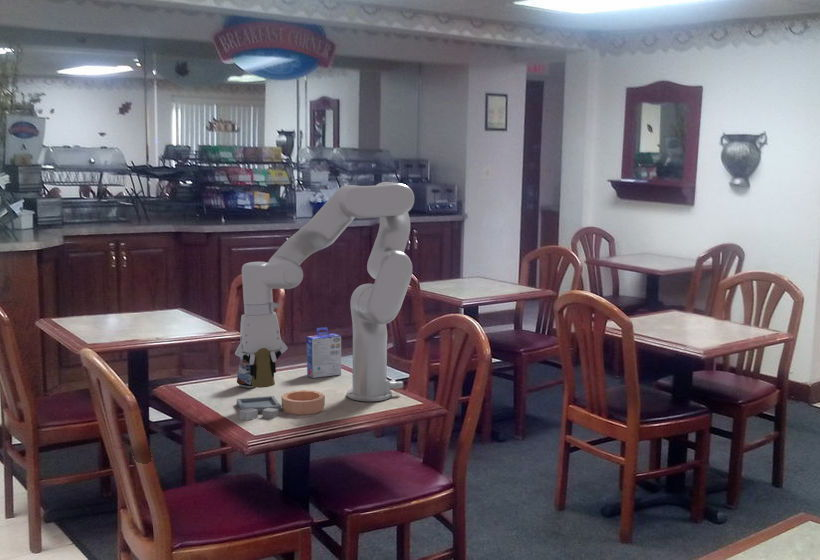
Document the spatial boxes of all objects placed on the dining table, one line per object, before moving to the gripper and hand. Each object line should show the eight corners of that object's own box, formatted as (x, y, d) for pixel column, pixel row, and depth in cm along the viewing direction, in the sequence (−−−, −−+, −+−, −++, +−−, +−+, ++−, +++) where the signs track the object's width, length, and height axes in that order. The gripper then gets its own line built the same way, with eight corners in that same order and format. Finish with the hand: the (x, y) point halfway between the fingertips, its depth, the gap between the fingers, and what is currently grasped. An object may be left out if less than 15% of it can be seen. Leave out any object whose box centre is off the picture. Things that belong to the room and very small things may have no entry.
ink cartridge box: (335, 371, 270) (335, 325, 268) (342, 375, 266) (342, 328, 264) (305, 374, 266) (305, 328, 264) (312, 378, 261) (312, 331, 259)
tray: (273, 401, 236) (273, 395, 236) (281, 411, 227) (281, 405, 227) (236, 404, 233) (236, 398, 233) (242, 414, 224) (242, 409, 223)
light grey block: (250, 415, 223) (250, 407, 223) (257, 418, 222) (257, 409, 221) (239, 419, 221) (239, 410, 220) (246, 421, 219) (246, 412, 219)
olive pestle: (265, 388, 226) (262, 347, 224) (247, 386, 229) (244, 345, 227) (279, 382, 231) (277, 342, 229) (262, 380, 234) (259, 340, 232)
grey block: (278, 416, 223) (278, 409, 223) (273, 419, 221) (273, 411, 221) (268, 415, 224) (268, 407, 224) (262, 417, 222) (262, 410, 222)
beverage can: (234, 385, 252) (234, 344, 251) (259, 382, 255) (258, 342, 254) (239, 390, 247) (239, 349, 245) (265, 388, 250) (264, 347, 248)
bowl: (318, 401, 237) (318, 389, 236) (328, 412, 226) (328, 399, 226) (278, 404, 233) (278, 392, 232) (287, 416, 223) (287, 403, 222)
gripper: (287, 303, 233) (291, 369, 236) (224, 310, 227) (229, 377, 230) (293, 308, 226) (297, 376, 229) (228, 315, 220) (233, 384, 223)
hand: (263, 376), depth 229 cm, fingers closed on olive pestle, 3 cm apart
